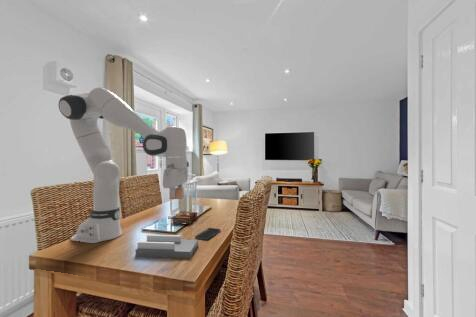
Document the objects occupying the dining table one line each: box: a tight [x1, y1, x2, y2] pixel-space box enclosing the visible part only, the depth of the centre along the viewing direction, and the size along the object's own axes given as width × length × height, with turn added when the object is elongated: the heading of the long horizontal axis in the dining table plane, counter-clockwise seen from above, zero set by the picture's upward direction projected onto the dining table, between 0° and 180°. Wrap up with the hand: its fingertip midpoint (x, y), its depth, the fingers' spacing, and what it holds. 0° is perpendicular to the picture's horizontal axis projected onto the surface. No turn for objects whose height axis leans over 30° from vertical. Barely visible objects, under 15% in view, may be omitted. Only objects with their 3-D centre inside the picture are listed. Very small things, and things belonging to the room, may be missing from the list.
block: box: [169, 187, 185, 200], centre depth 91 cm, size 5×5×4 cm
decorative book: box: [171, 210, 198, 225], centre depth 133 cm, size 11×16×5 cm
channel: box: [135, 234, 199, 259], centre depth 92 cm, size 23×12×5 cm, turn 86°
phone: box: [194, 227, 222, 242], centre depth 111 cm, size 8×1×15 cm
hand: (176, 195), depth 91 cm, fingers closed on block, 5 cm apart
